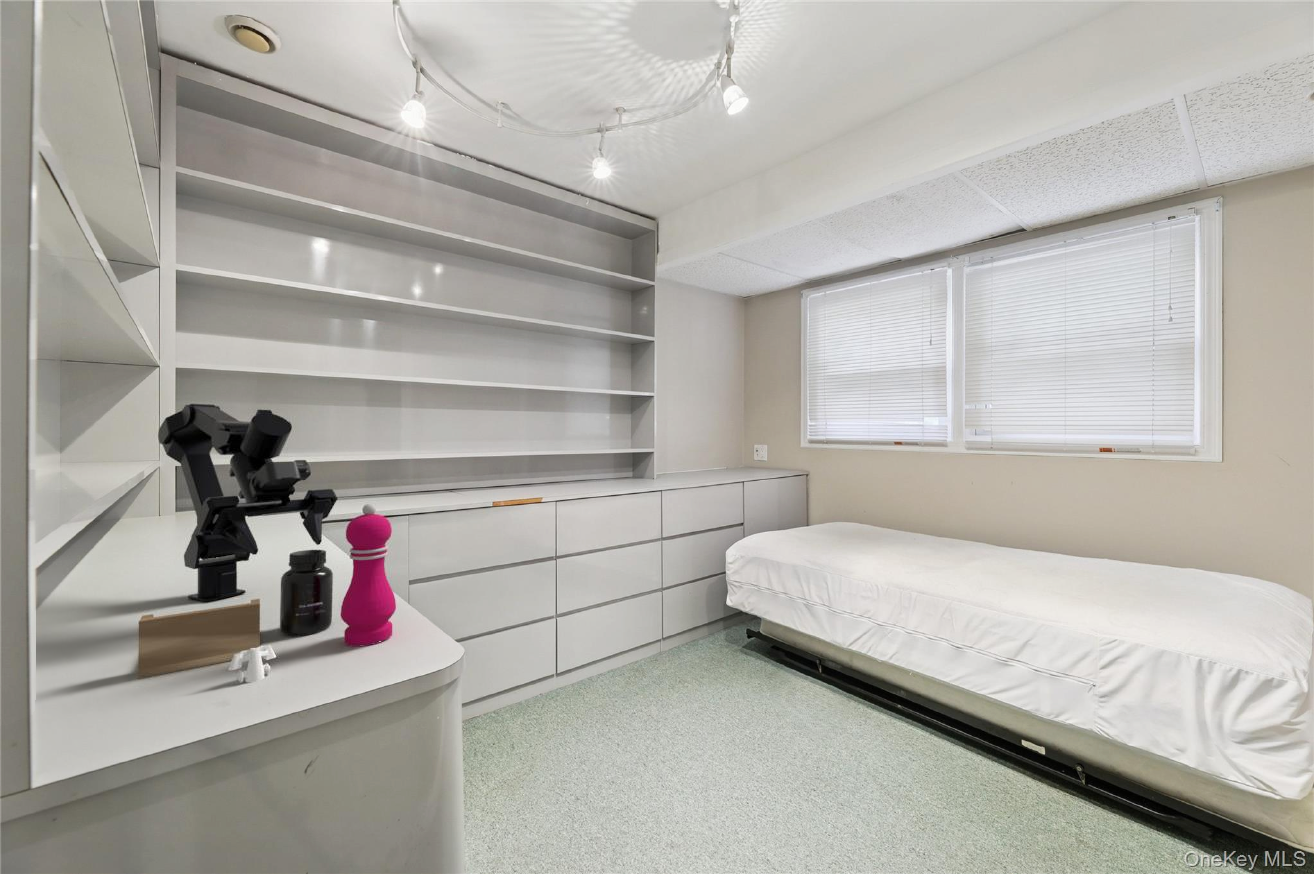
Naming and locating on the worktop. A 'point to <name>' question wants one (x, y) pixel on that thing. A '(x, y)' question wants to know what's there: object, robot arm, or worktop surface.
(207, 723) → the worktop surface
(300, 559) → the supplement bottle
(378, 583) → the pepper mill
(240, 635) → the holder
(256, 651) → the clip
